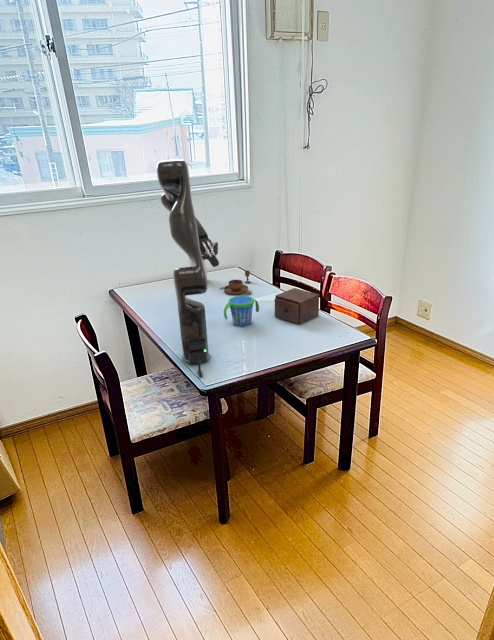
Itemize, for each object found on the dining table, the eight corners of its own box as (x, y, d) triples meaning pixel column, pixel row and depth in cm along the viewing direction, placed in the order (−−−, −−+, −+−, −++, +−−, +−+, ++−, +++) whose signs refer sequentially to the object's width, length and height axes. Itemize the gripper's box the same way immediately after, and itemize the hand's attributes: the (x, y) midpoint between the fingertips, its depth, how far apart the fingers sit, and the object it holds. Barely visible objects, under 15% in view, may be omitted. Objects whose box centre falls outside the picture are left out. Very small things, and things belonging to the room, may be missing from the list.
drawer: (295, 324, 204) (295, 306, 200) (272, 316, 211) (272, 299, 207) (314, 315, 212) (314, 297, 208) (291, 308, 219) (292, 291, 215)
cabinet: (300, 324, 206) (300, 302, 201) (275, 316, 214) (275, 295, 209) (318, 315, 214) (319, 294, 209) (294, 308, 221) (294, 287, 216)
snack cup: (228, 330, 202) (227, 307, 196) (220, 321, 210) (218, 298, 205) (264, 324, 207) (263, 300, 201) (254, 315, 215) (253, 293, 210)
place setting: (215, 289, 246) (214, 278, 243) (247, 281, 256) (247, 269, 253) (236, 298, 234) (236, 286, 231) (269, 289, 245) (269, 277, 242)
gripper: (185, 228, 198) (208, 263, 198) (210, 222, 207) (232, 256, 206) (178, 239, 204) (200, 274, 203) (203, 233, 213) (224, 267, 212)
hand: (216, 265), depth 205 cm, fingers closed
